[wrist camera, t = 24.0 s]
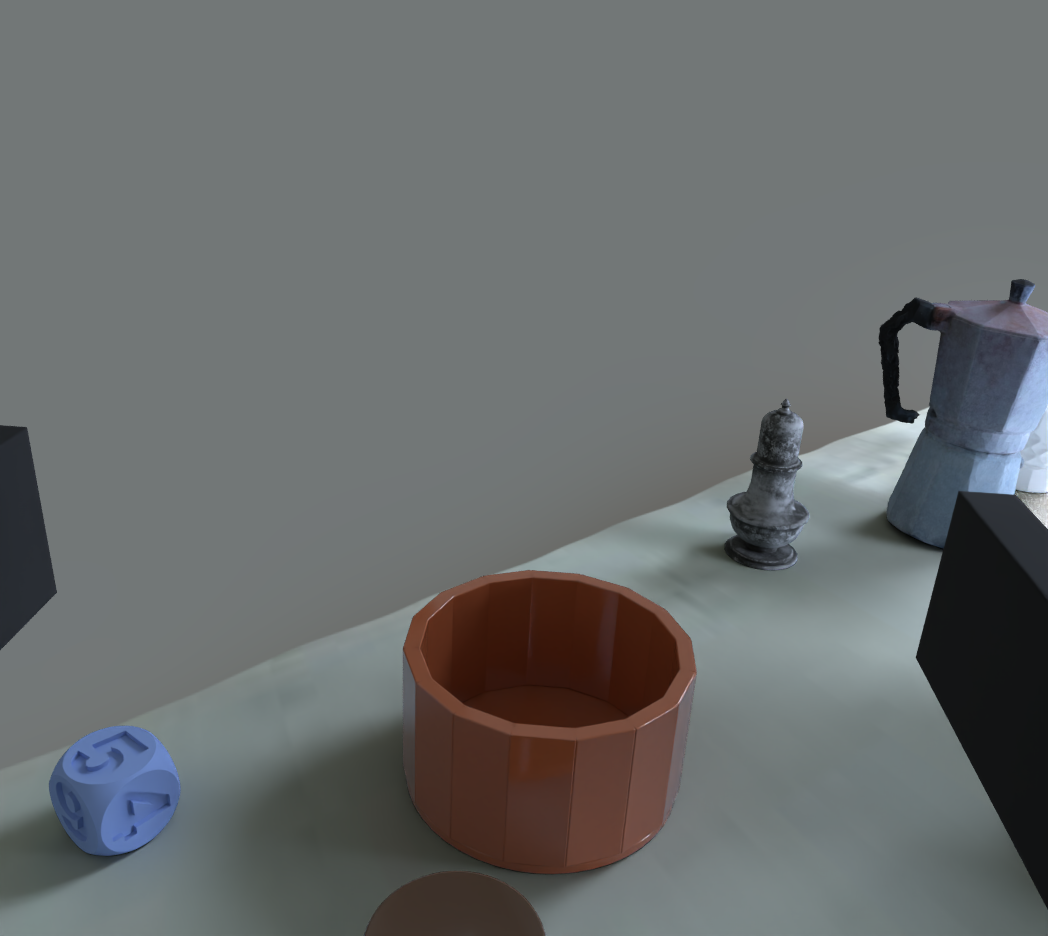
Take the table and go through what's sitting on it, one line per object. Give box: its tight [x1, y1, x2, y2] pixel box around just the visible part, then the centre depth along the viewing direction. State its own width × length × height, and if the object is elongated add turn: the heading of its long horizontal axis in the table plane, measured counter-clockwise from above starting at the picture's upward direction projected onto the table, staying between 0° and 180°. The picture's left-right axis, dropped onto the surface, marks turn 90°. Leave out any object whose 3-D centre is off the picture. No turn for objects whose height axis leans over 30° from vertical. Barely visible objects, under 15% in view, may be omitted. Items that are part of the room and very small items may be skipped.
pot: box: [403, 570, 697, 874], centre depth 47 cm, size 14×14×8 cm
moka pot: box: [879, 279, 1048, 549], centre depth 71 cm, size 10×15×20 cm, turn 91°
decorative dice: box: [49, 726, 180, 856], centre depth 43 cm, size 4×4×4 cm
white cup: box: [1016, 406, 1048, 493], centre depth 84 cm, size 8×8×10 cm
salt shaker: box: [725, 399, 810, 570], centre depth 68 cm, size 6×6×12 cm
